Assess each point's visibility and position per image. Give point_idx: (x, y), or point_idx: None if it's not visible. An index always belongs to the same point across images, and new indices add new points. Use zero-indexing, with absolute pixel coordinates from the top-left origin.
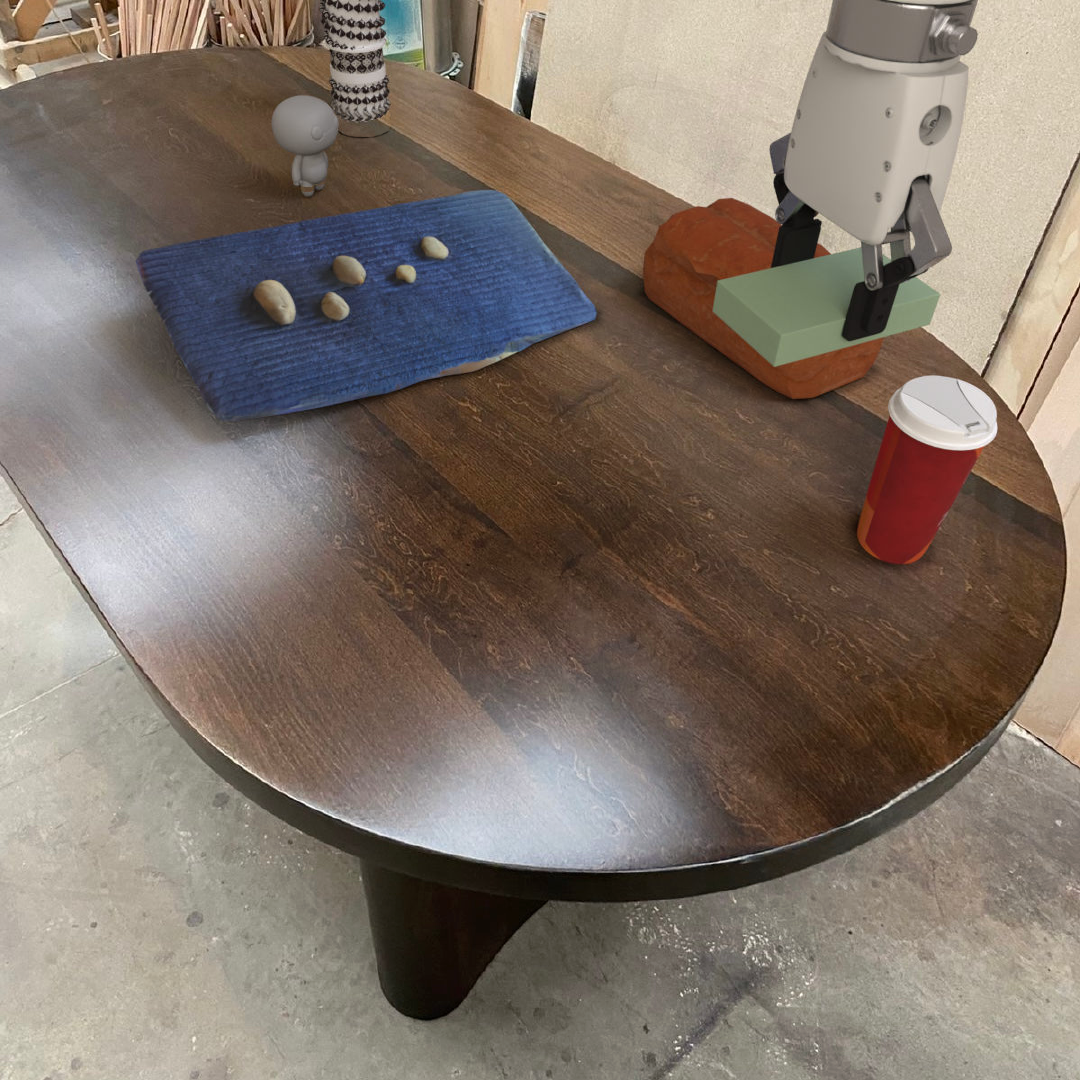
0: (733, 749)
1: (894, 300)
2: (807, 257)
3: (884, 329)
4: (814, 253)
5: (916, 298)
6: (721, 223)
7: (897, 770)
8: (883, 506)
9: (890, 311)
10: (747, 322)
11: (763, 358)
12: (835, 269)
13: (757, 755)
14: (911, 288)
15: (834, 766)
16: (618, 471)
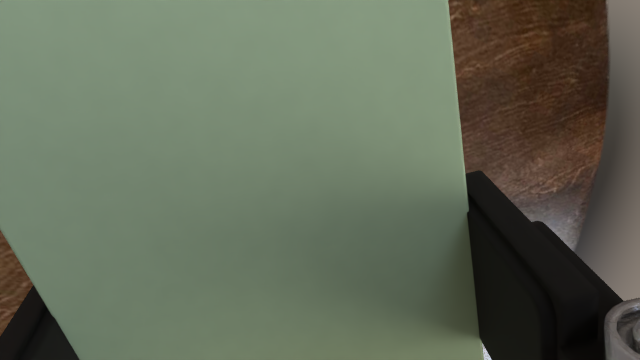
0: (507, 168)
1: (429, 141)
2: (63, 347)
3: (479, 171)
4: (46, 333)
5: (438, 37)
6: None
7: (587, 19)
8: None
9: (568, 248)
10: None
11: None
12: (152, 269)
13: (520, 149)
14: (355, 17)
15: (558, 82)
16: None
